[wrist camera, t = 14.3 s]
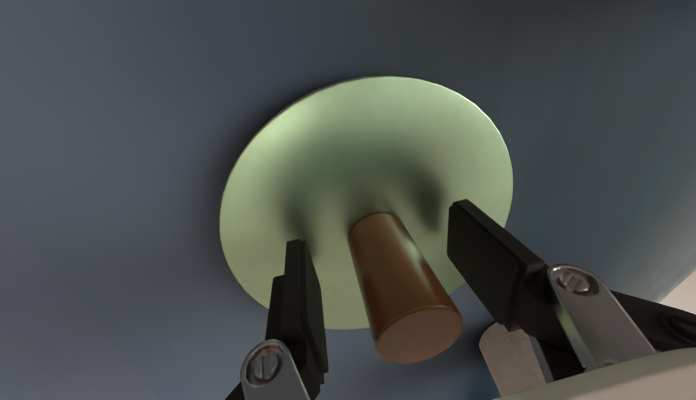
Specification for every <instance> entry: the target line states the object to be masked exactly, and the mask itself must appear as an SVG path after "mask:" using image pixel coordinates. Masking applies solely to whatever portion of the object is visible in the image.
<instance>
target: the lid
mask: <svg viewBox="0 0 696 400" xmlns="http://www.w3.org/2000/svg"><path fill="white" fill-rule="evenodd" d="M512 193H513V174H512V164H511V161H510V157H509V153H508V149H507V147H506V145H505V143H504V140H503V138H502V136H501V134H500V132H499V131H498V129H497V128H496V126H495V125H494V124H493V122H492V121H491V119H490V118H489V117H488V116H487V115H486V114H485V113H484V112H483V111H482V110H481V109H480V108H479V107H478V106H477V105H476V104H475V103H473V102H472V101H470V100H469V99H467V98H466V97H465V96H463V95H462V94H460V93H459V92H456V91H454V90H452V89H450V88H447V87H445V86H443V85H441V84H438V83H434V82H431V81H427V80H423V79H419V78H414V77H405V76H395V75H375V76H362V77H357V78H352V79H347V80H342V81H338V82H335V83H333V84H330V85H327V86H324V87H322V88H319V89H316V90H314V91H312V92H310V93H308V94H306V95H304V96H303V97H301V98H299V99H297V100H295V101H293V102H292V103H290V104H289V105H288V106H286V107H285V108H283V109H282V110H281V111H279V112H278V113H277V114H275V115H274V116H273V117H272V118H271V119H270V120H269V121H267V122H266V123H265V124H264V125H263V126H262V127H261V128H260V129H259V130H258V131H257V132H256V133H255V135H254V136H253V137H252V139H251V140H250V141H249V143H248V144H247V145H246V147H245V148H244V149H243V151H242V152H241V154H240V155H239V157H238V159H237V161H236V163H235V165H234V166H233V168H232V170H231V172H230V174H229V176H228V179H227V182H226V185H225V188H224V191H223V194H222V199H221V205H220V212H219V234H220V239H221V244H222V250H223V253H224V255H225V258H226V261H227V263H228V266H229V268H230V269H231V271H232V273H233V275H234V276H235V278H236V280H237V281H238V282H239V283H240V285H241V286H242V287H243V288H244V290H245V291H246V292H247V293H248V294H249V295H250V296H251V297H252V298H254V299H255V300H256V301H257V302H258V303H260V304H261V305H262V306H264V307H265V308H267V309H268V310H269V305H270V297H271V289H272V282H273V278H274V277H276V276H280V275H284V268H285V255H286V243H287V241H291V240H295V239H299V238H300V239H301V241H306V243H307V246H308V249H309V252H310V255H311V258H312V261H313V264H314V267H315V271H316V274H317V277H318V280H319V283H320V287H321V294H322V305H323V315H324V326H325V329H337V330H344V329H361V328H369V327H370V329H371V333H372V337H373V341H374V345H375V348H376V351H377V353H378V354H379V355H380V356H381V357H382V358H383V359H385V360H386V361H389V362H392V363H398V364H406V363H414V362H419V361H423V360H426V359H429V358H431V357H433V356H435V355H437V354H439V353H441V352H442V351H444V350H445V349H447V348H448V347H449V346H451V345H452V344H453V343H454V342H455V341H456V339H457V338H458V337H459V335H460V333H461V331H462V328H463V319H462V316H461V314H460V312H459V311H458V309H457V308H456V306H455V305H454V303H453V301H452V300H451V298H450V297H449V295H450V294H451V293H452V292H453V291H455V290H456V289H457V288H459V287H460V286H461V285H462V284H463V283H464V282H465V279H464V278H463V277H462V275H461V274H460V273H459V271H458V270H457V269H456V267H455V266H454V265H453V263H452V262H451V261H450V259H449V258H448V255H447V235H448V215H449V207H450V206H452V203H453V202H455V201H459V200H463V199H468V200H470V201H471V202H472V203H473V204H474V205H476V206H477V207H478V208H479V209H481V210H482V211H483V212H484V213H485V214H487V215H488V216H489V217H490V218H492V219H493V220H494V221H495V222H496V223H498V224H499V225H500V226H501V227H503V228H504V226H505V223H506V220H507V217H508V214H509V211H510V206H511V201H512Z"/></svg>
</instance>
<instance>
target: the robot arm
mask: <svg viewBox="0 0 696 400" xmlns="http://www.w3.org/2000/svg"><path fill="white" fill-rule="evenodd" d="M447 255H448V258H449V259H450V261H451V262H452V263H453V265H454V266H455V267H456V269H457V270H458V271H459V273H460V274H461V275H462V277H463V278H464V279H465V281H466V282H467V283H468V285H469V286H470V287H471V289H472V290H473V291H474V293H475V294H476V295H477V297H478V298H479V299H480V301H481V302H482V303H483V304H484V306H485V307H486V308H487V310H488V311H489V312H490V314H491V315H492V316H493V318H494V319H495V320H496V322H497V323H499V324H500V325H502V324H503V325H504V327H505V328H506V329H507V330H508V332H512V331H516V330H520V329H522V330H523V331H524V332H525V333H526V334H527V335H528V336H529V339H530V342H531V344H532V347H533V350H534V352H535V355H536V358H537V360H538V363H539V366H540V368H541V371H542V374H543V376H544V379H545V382H546V384H544V385H540V386H537V387H533V388H530V389H526V390H523V391H519V392H516V393H513V394H509V395H506V396H502V397H499V398H496V399H492V400H696V315H695V314H692V313H689V312H686V311H684V310H680V309H676V308H673V307H669V306H666V305H662V304H658V303H655V302H651V301H648V300H644V299H640V298H637V297H633V296H629V295H626V294H622V293H618V292H615V291H611V290H609V289H608V288H607V287H606V285H605V284H604V283H603V281H602V280H601V279H600V278H599V277H598V276H596V275H594V274H593V273H591V272H590V271H588V270H586V269H583V268H581V267H578V266H574V265H569V264H556V265H553V266H551V267H549V266H548V265H546V264H545V263H544V261H543V260H542V259H540V258H539V257H538V256H537V255H536V254H534V253H533V252H532V251H531V250H529V249H528V248H527V247H526V246H525V245H523V244H522V243H521V242H520V241H518V240H517V239H516V238H515V237H514V236H512V235H511V234H510V233H509V232H507V231H506V230H505V229H504V228H503V227H501V226H500V225H499V224H498V223H496V222H495V221H494V220H493V219H492V218H490V217H489V216H488V215H487V214H485V213H484V212H483V211H482V210H481V209H479V208H478V207H477V206H476V205H474V204H473V203H472V202H471V201H470V200H468V199H463V200H459V201H455V202H453V203H452V206H450V207H449V215H448V235H447ZM327 372H328V358H327V348H326V337H325V326H324V315H323V305H322V294H321V287H320V283H319V280H318V277H317V274H316V271H315V267H314V264H313V261H312V258H311V255H310V252H309V249H308V246H307V243H306V241H301V239H300V238H299V239H295V240H291V241H287V243H286V255H285V268H284V275H280V276H276V277H274V278H273V282H272V289H271V297H270V305H269V314H268V322H267V330H266V338H265V341H264V342H262V343H260V344H258V345H257V346H256V347H254V348H253V349H252V350H251V351H250V352H249V354H248V355H247V356H246V358H245V360H244V362H243V364H242V367H241V371H240V379H241V382H240V383H239V384H238V385H237V386H236V388H235V389H234V390H233V391H232V392H231V393H230V394H229V396H228V397H227V398H226V399H225V400H315V399H316V397H317V396H318V394H319V393H320V385H321V384H324V373H327Z"/></svg>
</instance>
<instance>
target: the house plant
mask: <svg viewBox="0 0 696 400" xmlns="http://www.w3.org/2000/svg"><path fill="white" fill-rule="evenodd" d="M479 348H480V350H481V352H482V355H483V357H484V359H485V361H486V363H487V366H488V368H489V370H490V372H491V374H492V377H493V379H494V381H495V383H496V386H497V388H498V390H499V392H500V394H501V397H502V396H506V395H509V394H513V393H516V392H519V391H523V390H526V389H530V388H533V387H537V386H540V385H544V384H546V382H545V379H544V376H543V374H542V371H541V368H540V366H539V363H538V360H537V358H536V355H535V352H534V350H533V347H532V344H531V342H530V339H529V336H528V335H527V334H526V333H525V332H524V331H523V330H522V329H520V330H516V331H512V332H508V330H507V329H506V328H505V327H504V325H503V324H502V325H500V324H499V323H497V322H496V323H495V324H493V325H492V326H490V327H489V328H488V329H487V330H486V331H485V332H484V333H483V335H482V337H481V339H480V342H479Z"/></svg>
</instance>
